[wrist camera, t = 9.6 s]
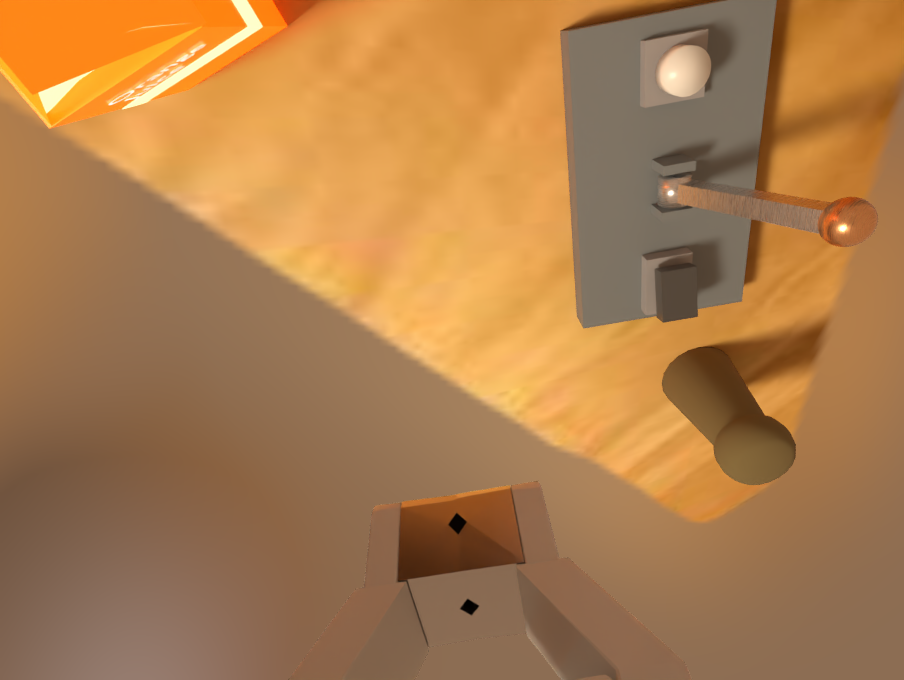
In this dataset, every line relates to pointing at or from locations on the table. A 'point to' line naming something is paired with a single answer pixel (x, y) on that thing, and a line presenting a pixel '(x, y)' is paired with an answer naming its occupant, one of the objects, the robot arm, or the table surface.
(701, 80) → the push button
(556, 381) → the table surface
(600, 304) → the control panel
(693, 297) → the rocker switch
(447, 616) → the robot arm
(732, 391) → the brown pawn
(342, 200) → the table surface
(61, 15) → the orange juice
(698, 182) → the copper ball joystick
